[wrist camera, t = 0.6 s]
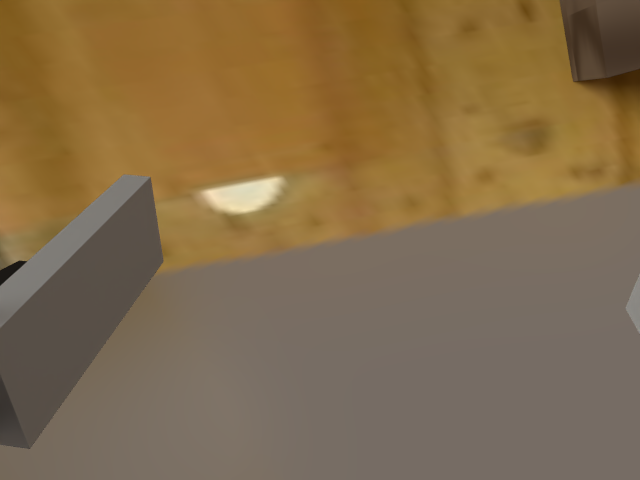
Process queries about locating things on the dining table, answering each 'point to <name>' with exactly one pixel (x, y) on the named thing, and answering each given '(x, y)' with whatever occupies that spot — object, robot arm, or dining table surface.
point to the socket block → (602, 37)
